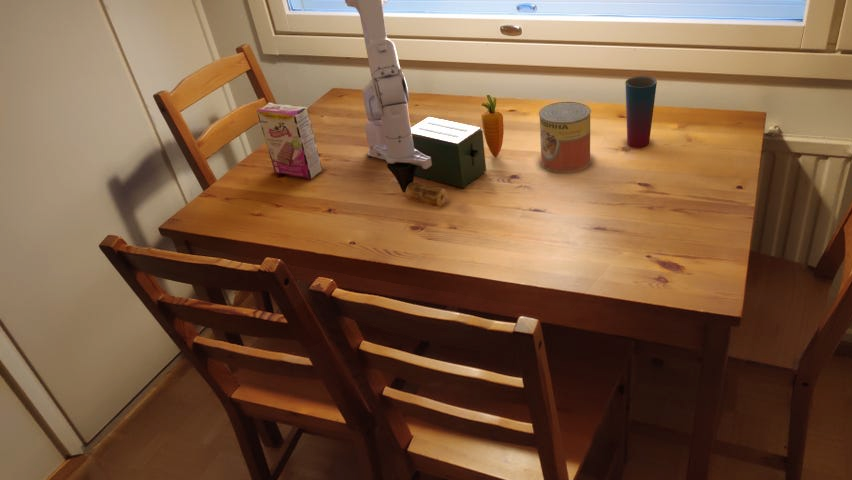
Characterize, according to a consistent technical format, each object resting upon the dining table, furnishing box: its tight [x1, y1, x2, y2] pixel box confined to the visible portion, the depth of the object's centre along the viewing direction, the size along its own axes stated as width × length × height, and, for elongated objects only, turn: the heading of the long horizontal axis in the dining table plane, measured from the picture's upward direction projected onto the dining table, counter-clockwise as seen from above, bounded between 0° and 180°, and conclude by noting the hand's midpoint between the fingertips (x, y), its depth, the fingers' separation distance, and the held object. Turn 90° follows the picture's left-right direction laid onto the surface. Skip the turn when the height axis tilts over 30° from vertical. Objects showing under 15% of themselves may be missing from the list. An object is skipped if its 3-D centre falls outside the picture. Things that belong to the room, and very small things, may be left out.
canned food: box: [538, 101, 592, 174], centre depth 154 cm, size 11×11×12 cm
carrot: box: [481, 93, 505, 158], centre depth 158 cm, size 5×5×15 cm
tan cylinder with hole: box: [404, 181, 448, 207], centre depth 146 cm, size 8×4×4 cm, turn 61°
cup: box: [624, 75, 658, 149], centre depth 157 cm, size 7×7×15 cm
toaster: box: [411, 116, 487, 190], centre depth 154 cm, size 16×9×11 cm, turn 55°
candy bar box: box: [256, 102, 323, 180], centre depth 160 cm, size 11×5×16 cm, turn 65°
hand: (407, 190), depth 150 cm, fingers closed
